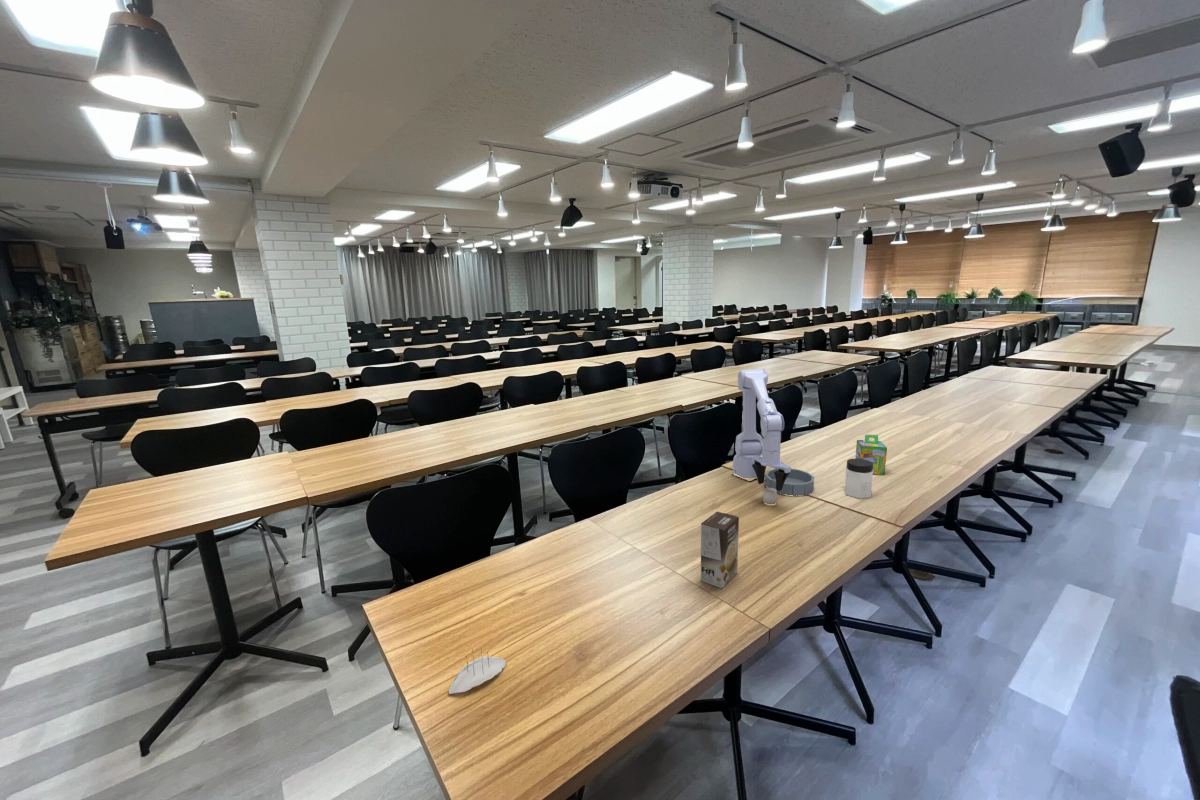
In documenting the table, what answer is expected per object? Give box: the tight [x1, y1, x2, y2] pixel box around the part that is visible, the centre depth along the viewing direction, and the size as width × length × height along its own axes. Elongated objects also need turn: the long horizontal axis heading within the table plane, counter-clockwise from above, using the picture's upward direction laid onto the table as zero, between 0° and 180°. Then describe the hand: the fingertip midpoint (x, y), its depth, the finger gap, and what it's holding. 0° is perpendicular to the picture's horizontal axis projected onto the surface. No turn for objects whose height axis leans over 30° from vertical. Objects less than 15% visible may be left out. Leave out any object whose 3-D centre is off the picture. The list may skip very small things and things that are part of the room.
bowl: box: [764, 468, 815, 497], centre depth 176 cm, size 17×17×4 cm
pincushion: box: [448, 648, 507, 695], centre depth 92 cm, size 12×6×6 cm, turn 129°
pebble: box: [762, 487, 778, 504], centre depth 163 cm, size 4×4×5 cm
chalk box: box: [854, 434, 888, 476], centre depth 187 cm, size 9×9×15 cm
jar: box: [844, 458, 874, 499], centre depth 167 cm, size 9×8×12 cm
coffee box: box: [700, 511, 740, 589], centre depth 121 cm, size 9×6×16 cm
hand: (770, 486), depth 162 cm, fingers open, 7 cm apart
